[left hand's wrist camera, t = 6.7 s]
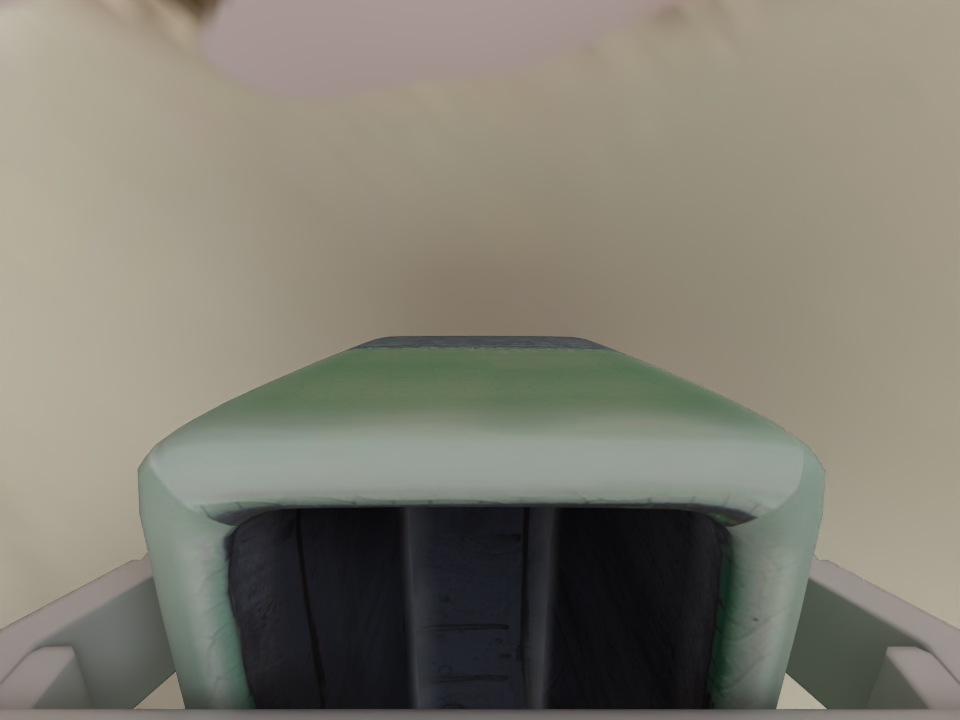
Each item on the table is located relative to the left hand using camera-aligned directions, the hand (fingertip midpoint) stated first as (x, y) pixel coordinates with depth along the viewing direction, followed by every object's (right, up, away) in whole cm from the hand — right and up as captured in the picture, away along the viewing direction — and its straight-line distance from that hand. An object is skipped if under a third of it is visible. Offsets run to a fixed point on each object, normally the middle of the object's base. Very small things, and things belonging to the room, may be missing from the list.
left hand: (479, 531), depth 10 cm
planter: (0, -8, +6) cm, 10 cm away
